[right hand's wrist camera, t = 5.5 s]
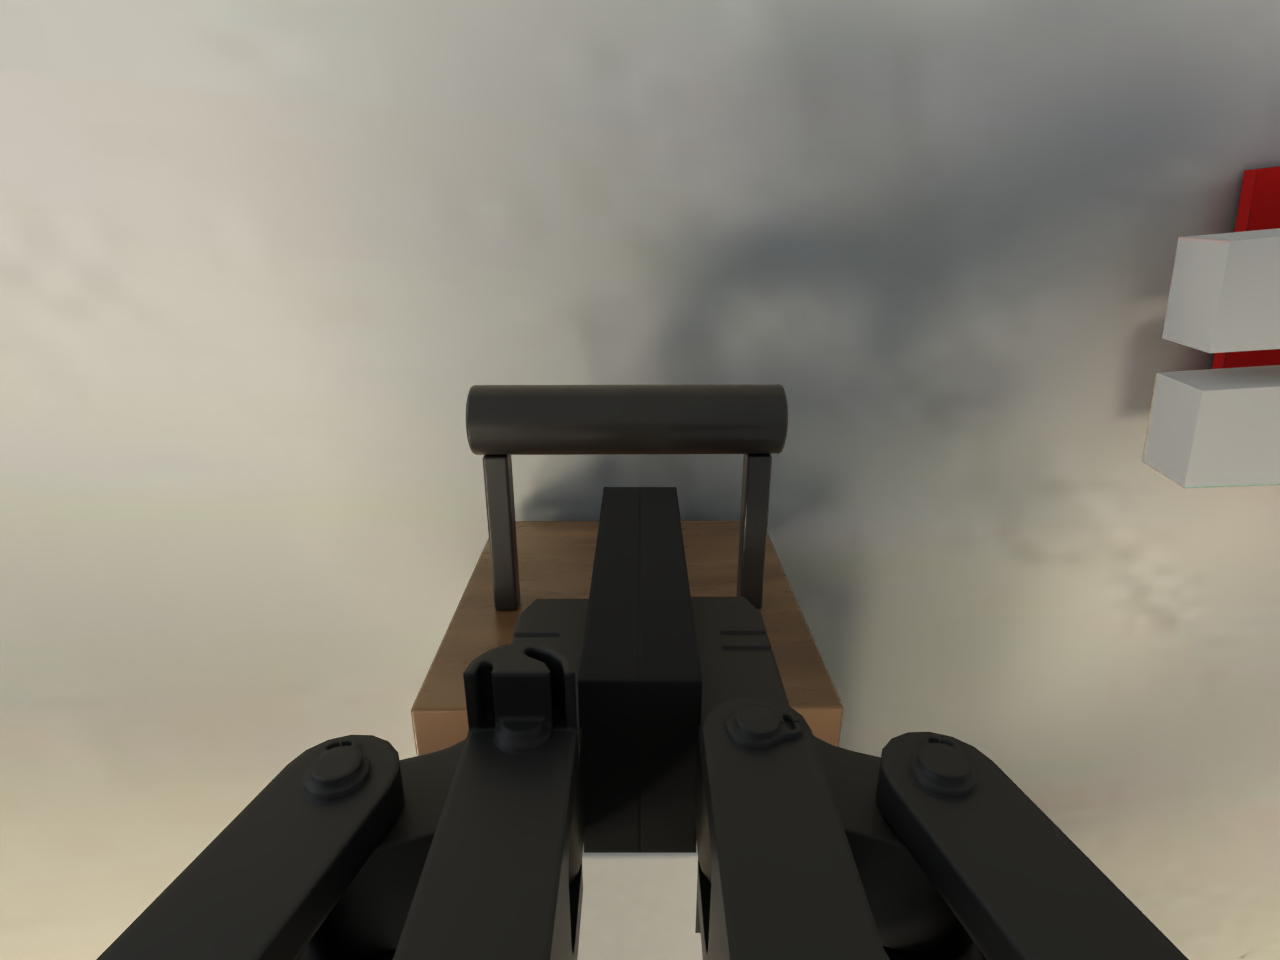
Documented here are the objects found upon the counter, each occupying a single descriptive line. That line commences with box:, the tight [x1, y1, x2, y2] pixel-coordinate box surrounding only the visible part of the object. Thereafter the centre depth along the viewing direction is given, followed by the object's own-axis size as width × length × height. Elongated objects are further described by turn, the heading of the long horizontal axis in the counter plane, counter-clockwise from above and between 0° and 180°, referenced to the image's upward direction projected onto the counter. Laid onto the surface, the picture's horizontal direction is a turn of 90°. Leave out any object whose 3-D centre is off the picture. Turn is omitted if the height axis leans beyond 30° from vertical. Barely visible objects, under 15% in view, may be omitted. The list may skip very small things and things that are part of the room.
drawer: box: [411, 385, 843, 756], centre depth 21 cm, size 24×9×10 cm, turn 0°
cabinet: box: [577, 840, 703, 960], centre depth 24 cm, size 20×10×12 cm, turn 0°
